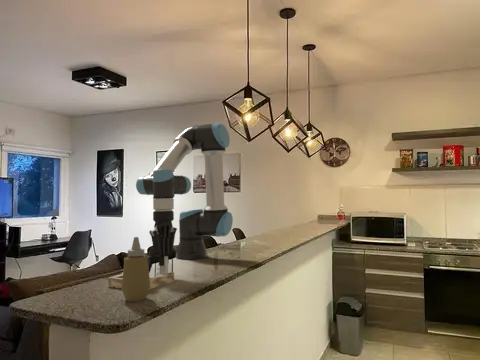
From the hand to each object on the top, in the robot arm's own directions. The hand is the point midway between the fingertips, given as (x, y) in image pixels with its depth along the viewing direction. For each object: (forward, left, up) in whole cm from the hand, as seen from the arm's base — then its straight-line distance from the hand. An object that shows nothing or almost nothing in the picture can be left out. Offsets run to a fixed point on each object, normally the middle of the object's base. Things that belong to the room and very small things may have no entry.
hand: (163, 274), depth 135 cm
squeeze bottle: (+26, +12, -1) cm, 29 cm away
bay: (+10, 0, -1) cm, 10 cm away
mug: (+12, 0, -1) cm, 12 cm away
